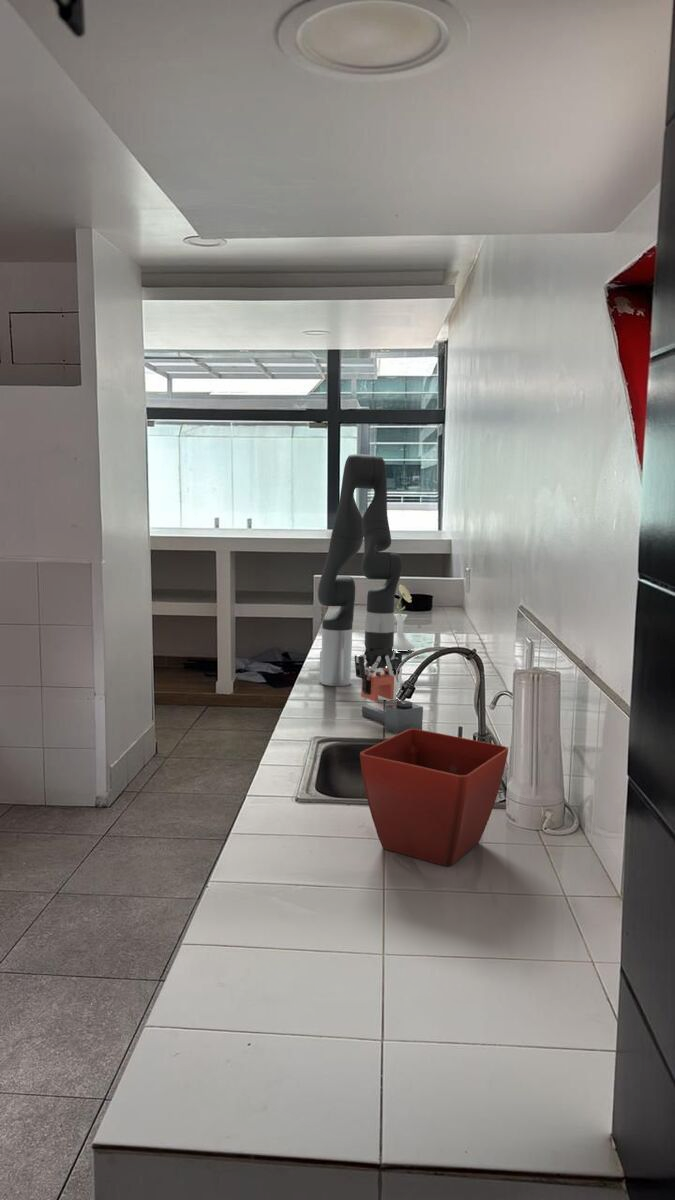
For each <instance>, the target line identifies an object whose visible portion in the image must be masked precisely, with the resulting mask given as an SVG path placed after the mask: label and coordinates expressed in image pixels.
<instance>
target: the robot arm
mask: <svg viewBox="0 0 675 1200" xmlns="http://www.w3.org/2000/svg"><path fill="white" fill-rule="evenodd" d="M385 462H386V461H385V460H384V459H383V457H382V456H380V455H374V454H372V455H371V454H363V453H362V454H361V453H360V454H359V453H351V454H349V455H348V456H347V458H346V460H345V464H344V467H343V473H342V478H341V479H342V481H341V488H340V495H339V501H338V506H337V511H336V515H335V518H334V522H333V527H332V531H331V536H330V542H329V546H328V551H327V556H326V560H325V563H324V567H323V569H322V573H321V576H320V580H319V582H318V588H317V599H318V602H319V604H321V606H322V607H323V606H324V607H339V609H338V611H336V612H335V613H333V614H331V615H329V616H326V617H324V618H323V619H322V621H321V622H322V626H321V629H322V630H321V650H320V652H319V680H318V681H319V682H320V684H321V685H325V686H330V687H332V686H333V687H345V686H349V685H351V680H352V679H351V675H352V673H351V672H352V654H353V653H352V649H353V647H352V646H353V623H354V611H355V600H356V582H355V580H354V577H352V576H349V575H339V573H340V572H341V570H342V568H343V567H344V566H346V564H348V562H350V561H351V560H352V559H353V558H354V557H355V556H356V555H357V553H358V552H359V551H360V549H361V547H362V544H363V542H364V545H363V546H364V548H363V549H364V550H363V554H362V555H363V556H362V560H361V572H362V574H363V576H364V577H365V578H366V579H368V580H385V583H384V584H383V585H382V586H380V587H375V588H370V589H369V590H368V592H367V598H366V599H367V600H366V615H365V621H364V622H365V625H364V647H365V651H364V653H363V654H360V655H359V654H355V655H354V667H355V676H356V678H359V679H361V681H362V680H363V686H362V685H361V689H362V690H363V692H364V694H367V695H369V694H371V681H370V679H371V677H372V674H373V673H374V672H375V670H376V669H378V668H380V667H381V668H382V669H383V671H384V673H385V674H388V675H391V676H395V675H396V670H397V668H398V666H399V664H400V663H401V659H402V660H403V652H397V651H392V647H393V646H394V636H395V616H394V614H395V596H396V592H397V588H398V584H399V582H400V578H401V575H402V572H403V567H404V566H403V565H404V562H403V559H402V557H401V555H400V554H399V553H398V552H393V551H386V552H385V550H387V549H389V548H390V547H391V545H392V536H391V532H390V531H391V530H390V526H389V518H388V488H387V486H388V480H387V468H386V463H385ZM356 489H366V490H368V489H369V490H373V491H374V495H373V498H372V500H371V502H370V504H368V507H367V508H366V510H365V512H364V514H363V515H362V514H361V512H360V510H359V507H358V506H357V503H356V499H355V495H354V494H355V490H356ZM391 658H392V663H390V660H391ZM395 667H396V668H395ZM399 672H400V670H399V671H398V674H399ZM398 674H397V675H398ZM362 687H363V688H362Z"/></svg>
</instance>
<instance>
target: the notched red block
mask: <svg viewBox="0 0 675 1200" xmlns="http://www.w3.org/2000/svg"><path fill="white" fill-rule="evenodd" d="M370 681H371V694H369V695H367V694H364V692H363V690H362V688H363V687H362V686H363V680H362V679H361V692H360V694H361V695H360V697H361V698H364V699H367V700H370V701H372V702H379V700H378V695H379V696H382V697H385V698H388V699H393V696H394V676H391V675H388V674H385V673H382V672H376V673H373V674H372V677H371V679H370Z"/></svg>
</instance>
